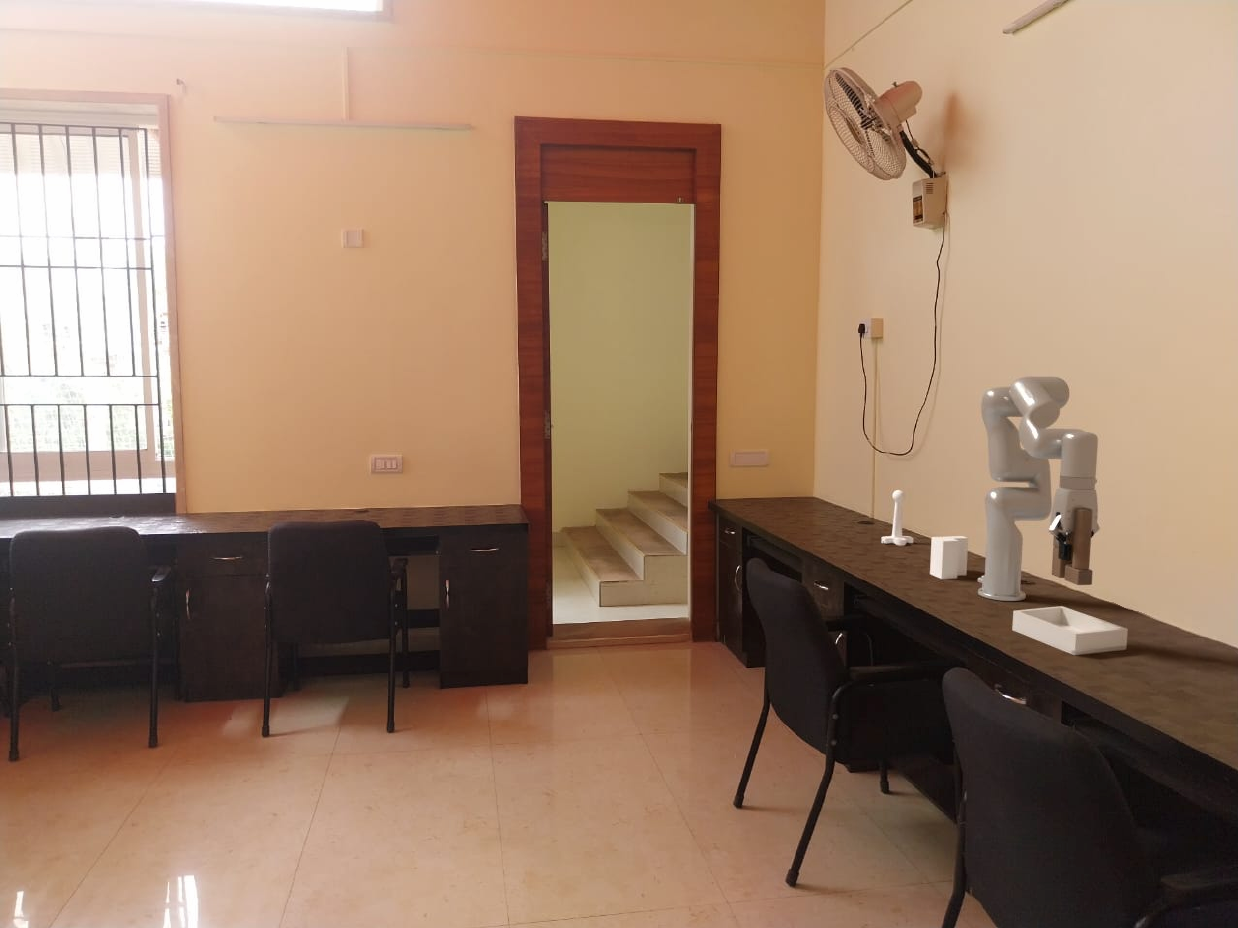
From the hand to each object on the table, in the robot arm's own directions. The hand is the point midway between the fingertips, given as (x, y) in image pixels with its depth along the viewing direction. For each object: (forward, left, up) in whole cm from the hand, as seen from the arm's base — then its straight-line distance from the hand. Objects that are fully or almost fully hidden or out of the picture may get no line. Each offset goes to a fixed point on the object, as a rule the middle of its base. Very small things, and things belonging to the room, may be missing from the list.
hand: (1072, 558), depth 211 cm
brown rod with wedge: (0, 0, -6) cm, 6 cm away
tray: (0, 0, -20) cm, 20 cm away
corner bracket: (-65, +15, -20) cm, 70 cm away
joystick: (-110, +28, -20) cm, 115 cm away
